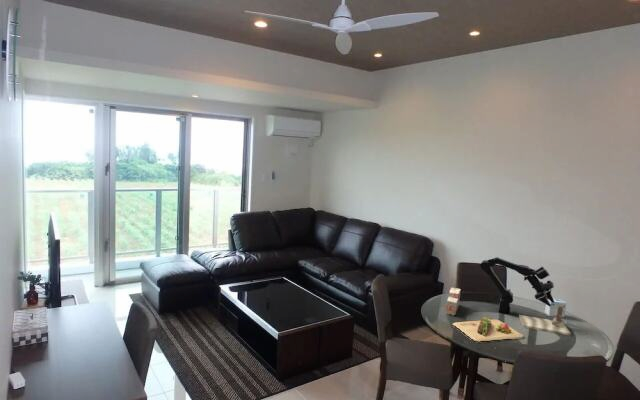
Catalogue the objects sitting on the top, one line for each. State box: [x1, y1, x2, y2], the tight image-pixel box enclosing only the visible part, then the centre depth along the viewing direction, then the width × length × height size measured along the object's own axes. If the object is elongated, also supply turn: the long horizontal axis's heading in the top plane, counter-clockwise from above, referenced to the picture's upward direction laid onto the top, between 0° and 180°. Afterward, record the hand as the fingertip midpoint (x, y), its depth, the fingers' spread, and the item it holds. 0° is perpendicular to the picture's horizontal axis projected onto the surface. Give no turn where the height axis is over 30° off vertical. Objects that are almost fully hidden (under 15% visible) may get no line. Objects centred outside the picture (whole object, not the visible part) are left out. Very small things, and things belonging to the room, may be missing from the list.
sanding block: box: [551, 306, 566, 327], centre depth 249 cm, size 6×7×12 cm
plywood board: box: [518, 314, 572, 337], centre depth 250 cm, size 26×17×2 cm, turn 72°
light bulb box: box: [544, 298, 567, 318], centre depth 268 cm, size 11×7×11 cm, turn 84°
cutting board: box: [452, 316, 524, 343], centre depth 237 cm, size 35×23×8 cm
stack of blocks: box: [445, 287, 461, 316], centre depth 267 cm, size 21×6×12 cm, turn 154°
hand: (552, 304), depth 251 cm, fingers open, 9 cm apart
